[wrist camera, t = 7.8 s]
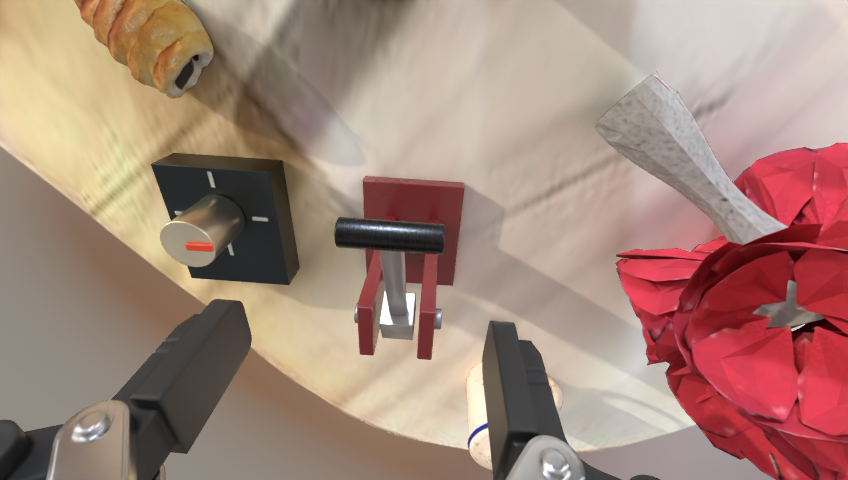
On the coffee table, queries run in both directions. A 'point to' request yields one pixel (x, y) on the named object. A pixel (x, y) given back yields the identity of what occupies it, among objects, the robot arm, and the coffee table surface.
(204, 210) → the dial
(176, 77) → the pastry
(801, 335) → the bouquet
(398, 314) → the lever
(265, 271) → the dial panel
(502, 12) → the coffee table surface
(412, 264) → the bracket
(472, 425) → the teacup with lid
